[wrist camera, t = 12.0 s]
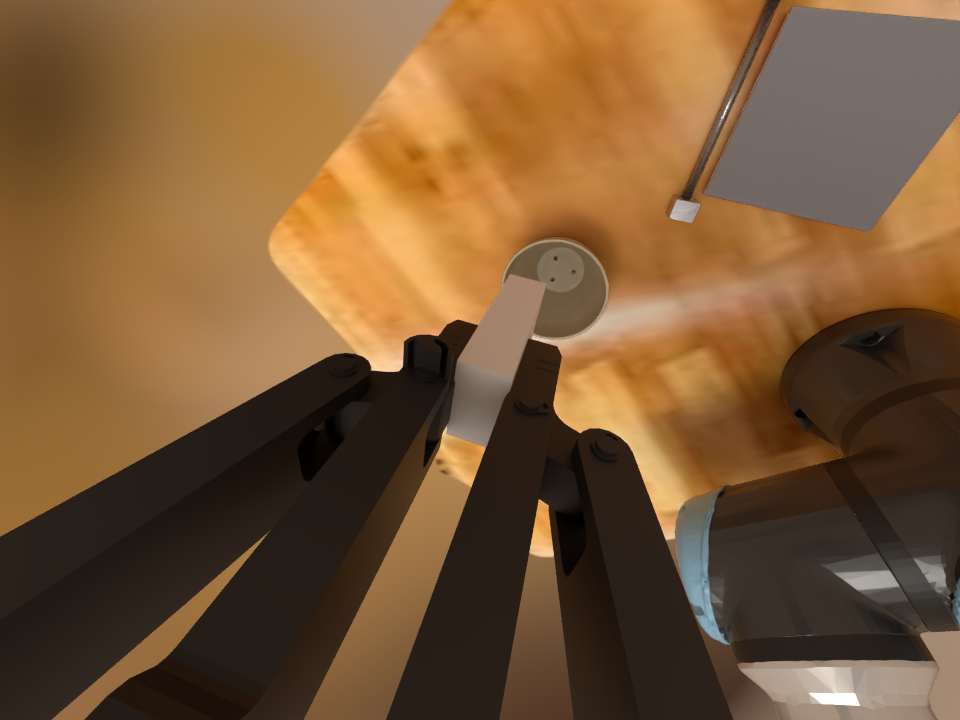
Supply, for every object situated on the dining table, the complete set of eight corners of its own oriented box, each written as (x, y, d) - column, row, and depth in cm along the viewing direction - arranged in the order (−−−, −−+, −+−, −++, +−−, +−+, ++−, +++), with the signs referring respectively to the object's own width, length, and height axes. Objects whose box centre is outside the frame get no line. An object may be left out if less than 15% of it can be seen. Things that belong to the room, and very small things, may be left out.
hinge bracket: (802, -33, 25) (818, -46, 23) (687, 217, 35) (692, 223, 33) (771, -37, 26) (784, -50, 24) (665, 212, 35) (668, 218, 33)
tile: (792, 6, 25) (788, 11, 26) (704, 194, 32) (703, 192, 33) (1024, 26, 22) (1007, 32, 23) (869, 232, 29) (862, 228, 30)
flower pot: (576, 200, 37) (571, 215, 31) (625, 282, 40) (629, 310, 34) (497, 255, 42) (480, 278, 36) (546, 324, 45) (537, 355, 39)
